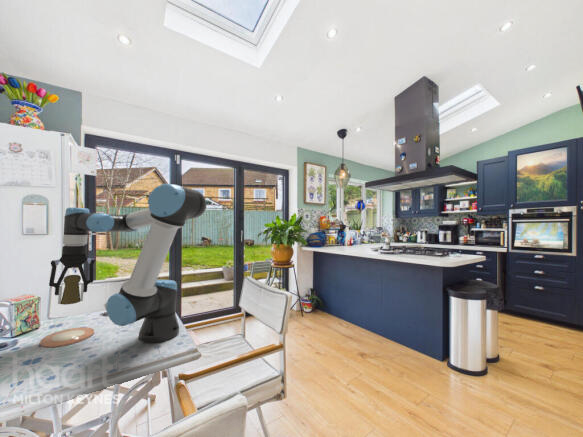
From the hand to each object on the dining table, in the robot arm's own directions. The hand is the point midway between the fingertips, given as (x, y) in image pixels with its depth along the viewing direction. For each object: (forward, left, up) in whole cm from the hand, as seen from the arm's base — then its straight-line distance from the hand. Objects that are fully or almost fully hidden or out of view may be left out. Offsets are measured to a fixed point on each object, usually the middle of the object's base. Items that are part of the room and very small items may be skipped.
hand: (70, 301), depth 97 cm
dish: (0, 0, -14) cm, 14 cm away
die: (+23, -17, -15) cm, 32 cm away
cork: (0, 0, 0) cm, 1 cm away
